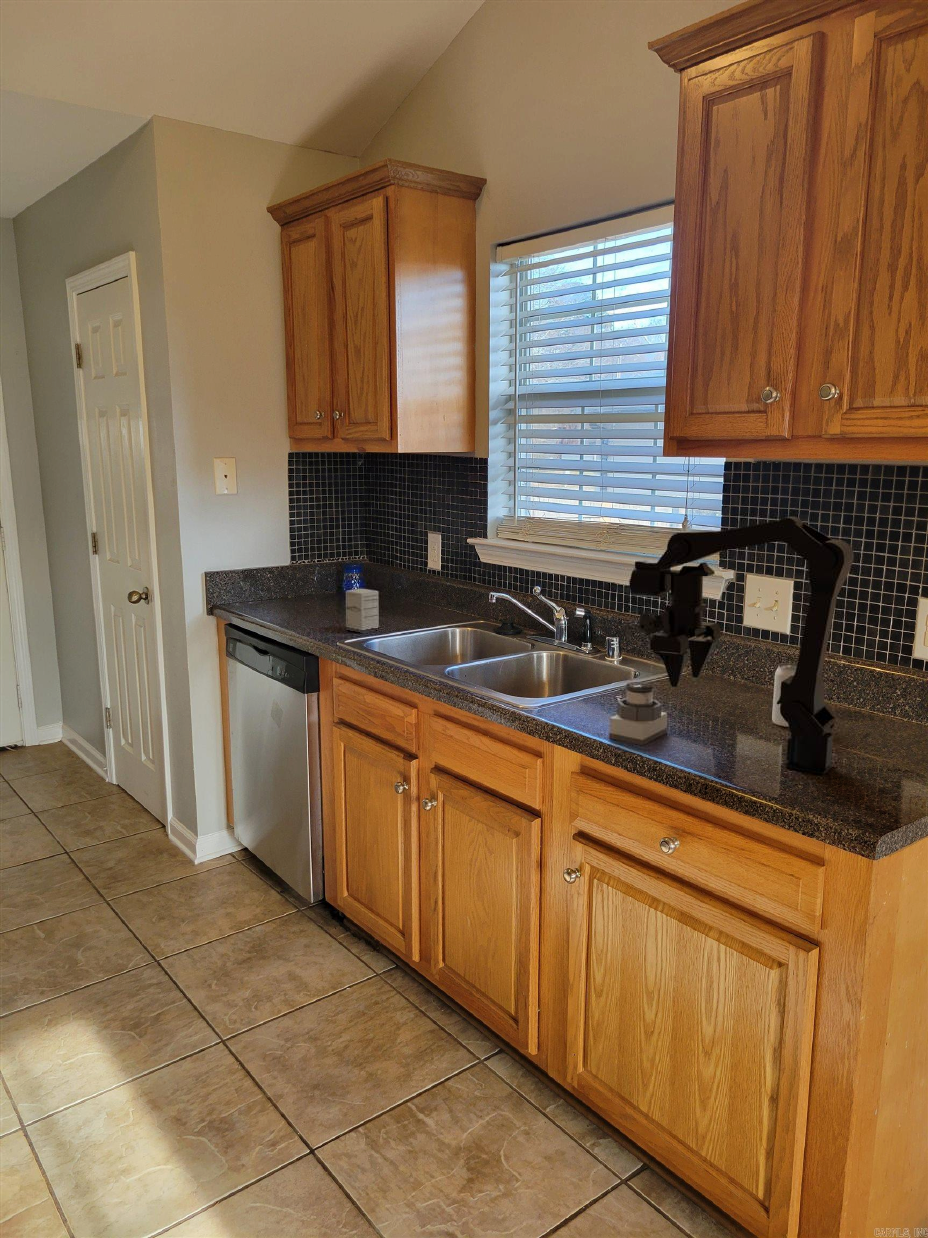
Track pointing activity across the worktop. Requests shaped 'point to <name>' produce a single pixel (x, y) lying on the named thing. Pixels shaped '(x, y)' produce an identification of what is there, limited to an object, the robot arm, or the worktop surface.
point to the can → (780, 675)
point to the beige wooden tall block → (362, 609)
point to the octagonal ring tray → (638, 723)
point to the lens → (639, 694)
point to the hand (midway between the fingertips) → (685, 682)
